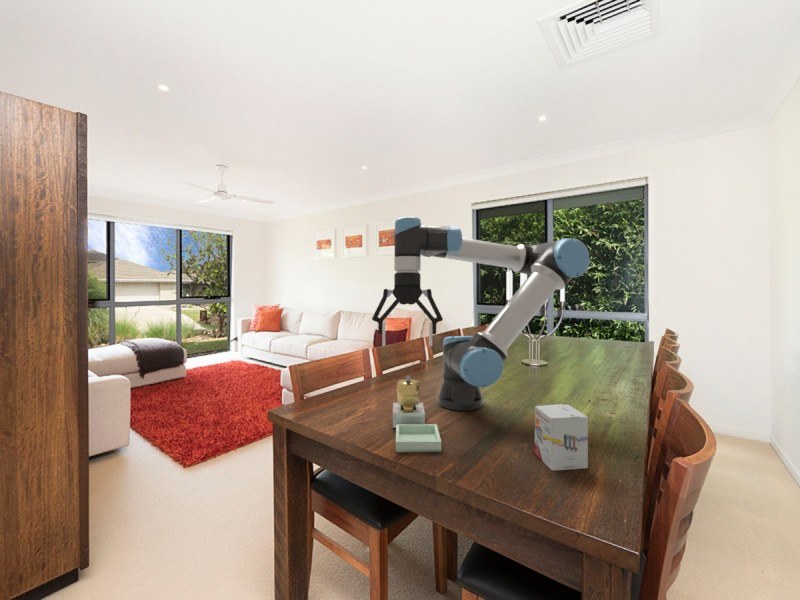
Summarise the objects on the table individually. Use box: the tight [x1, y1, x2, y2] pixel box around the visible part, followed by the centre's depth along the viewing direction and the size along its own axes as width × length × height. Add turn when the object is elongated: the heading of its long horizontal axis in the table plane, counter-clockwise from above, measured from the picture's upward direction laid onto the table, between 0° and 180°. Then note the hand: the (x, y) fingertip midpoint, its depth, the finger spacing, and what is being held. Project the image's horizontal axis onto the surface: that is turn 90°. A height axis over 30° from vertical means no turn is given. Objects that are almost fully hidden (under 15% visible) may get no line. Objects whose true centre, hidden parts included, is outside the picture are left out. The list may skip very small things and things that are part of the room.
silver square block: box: [392, 402, 426, 429], centre depth 105 cm, size 9×9×4 cm
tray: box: [395, 423, 442, 453], centre depth 92 cm, size 11×11×2 cm
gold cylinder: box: [396, 375, 420, 410], centre depth 105 cm, size 6×6×13 cm
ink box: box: [534, 403, 589, 472], centre depth 82 cm, size 9×9×12 cm
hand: (407, 345), depth 104 cm, fingers open, 13 cm apart
